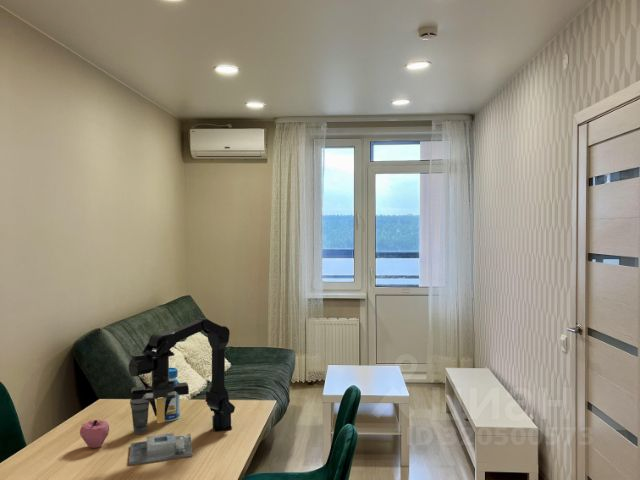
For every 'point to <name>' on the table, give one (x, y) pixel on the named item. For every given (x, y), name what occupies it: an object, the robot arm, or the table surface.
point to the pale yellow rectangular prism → (160, 410)
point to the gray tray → (160, 448)
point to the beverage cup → (139, 414)
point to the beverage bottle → (173, 399)
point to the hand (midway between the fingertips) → (160, 415)
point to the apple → (94, 432)
